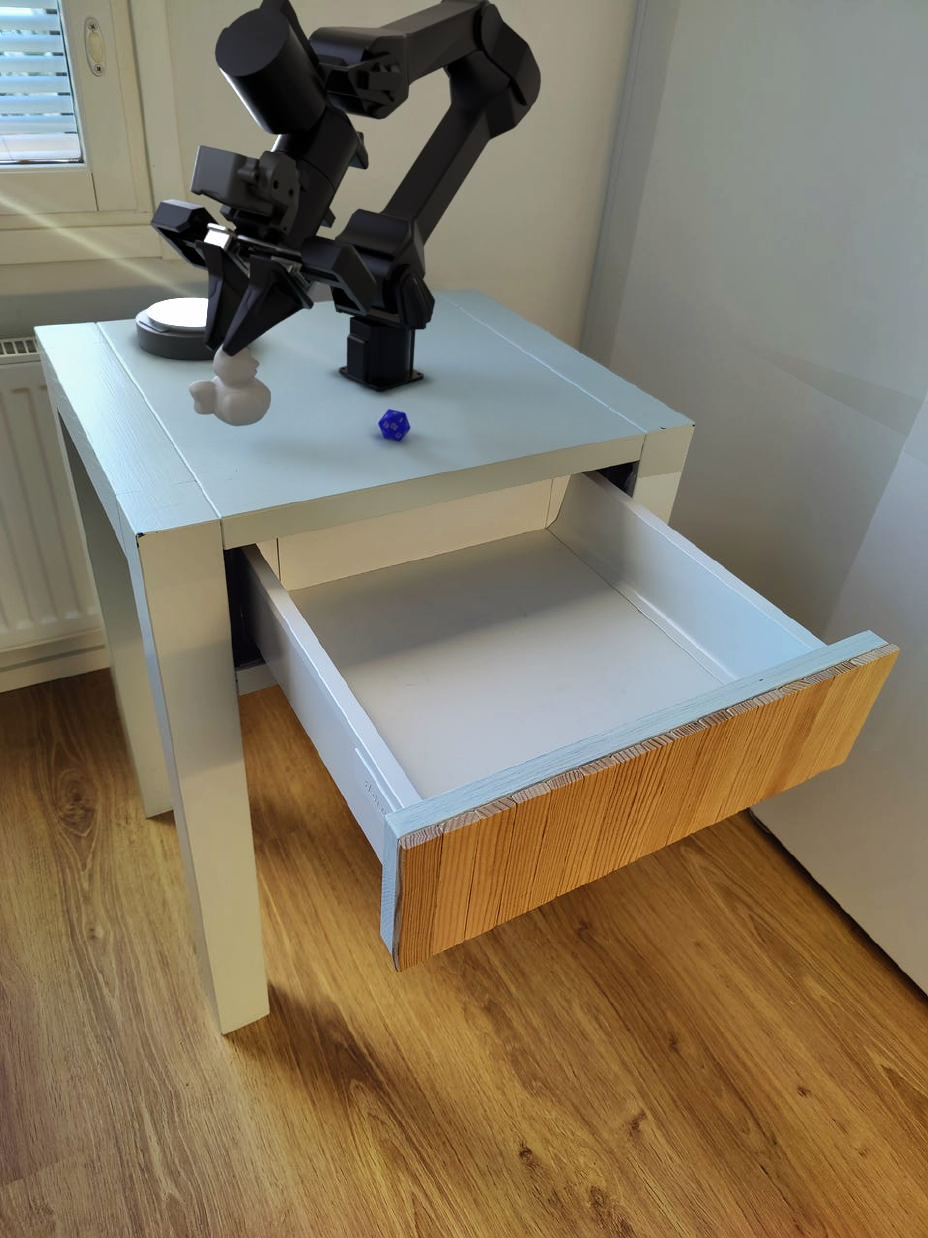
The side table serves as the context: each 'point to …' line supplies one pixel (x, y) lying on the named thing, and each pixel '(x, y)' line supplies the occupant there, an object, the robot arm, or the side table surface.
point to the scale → (175, 329)
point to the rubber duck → (232, 390)
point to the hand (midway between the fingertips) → (217, 350)
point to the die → (394, 425)
